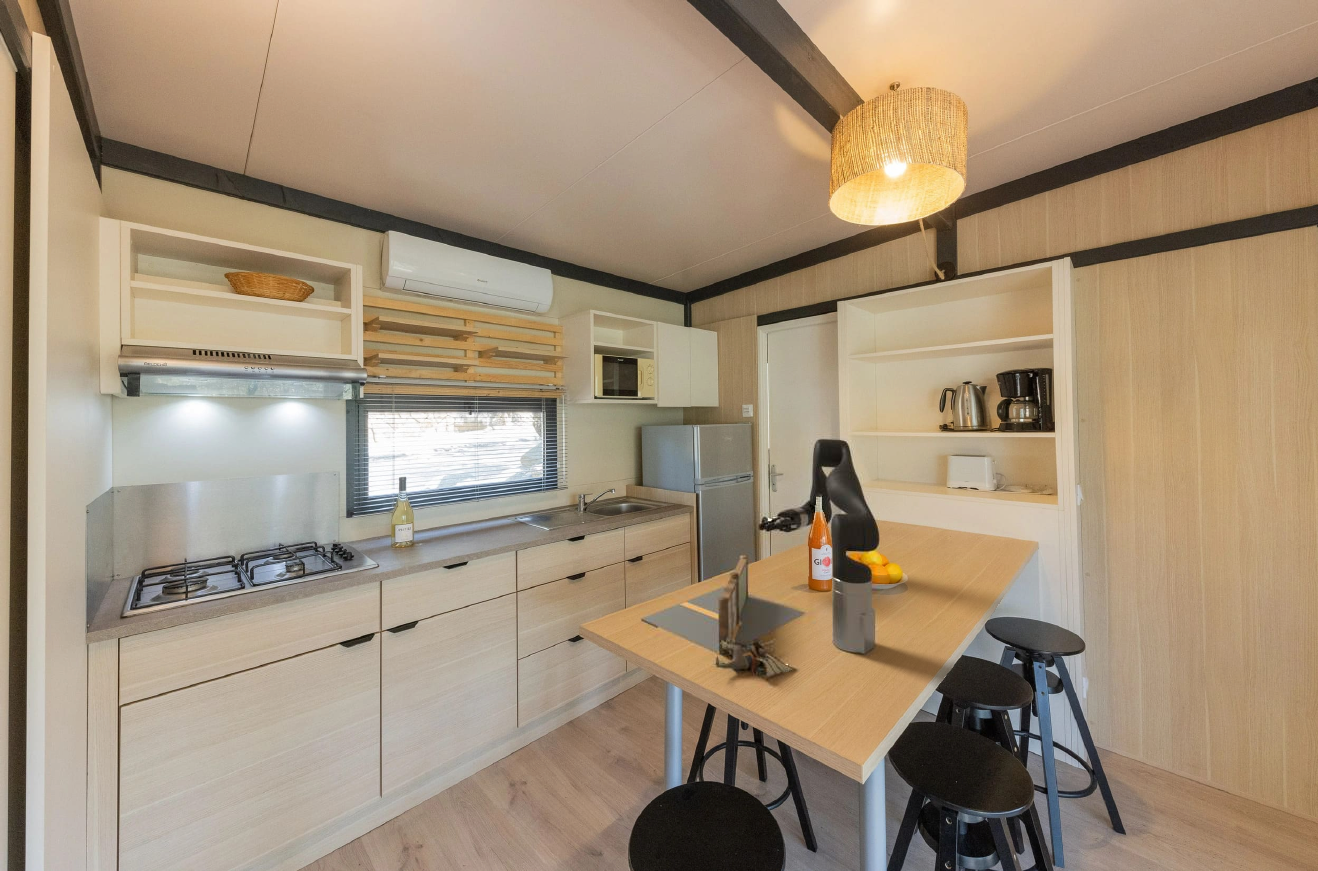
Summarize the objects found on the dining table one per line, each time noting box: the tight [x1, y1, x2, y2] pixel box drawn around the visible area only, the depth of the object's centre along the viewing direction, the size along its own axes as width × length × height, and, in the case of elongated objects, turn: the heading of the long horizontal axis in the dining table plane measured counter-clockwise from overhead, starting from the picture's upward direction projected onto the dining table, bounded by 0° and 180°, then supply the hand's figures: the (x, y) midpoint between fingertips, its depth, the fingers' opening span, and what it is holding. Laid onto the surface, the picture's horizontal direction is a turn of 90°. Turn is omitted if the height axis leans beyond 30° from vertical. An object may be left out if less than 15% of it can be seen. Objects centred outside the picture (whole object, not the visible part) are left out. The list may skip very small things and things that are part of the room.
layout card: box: [640, 586, 806, 657], centre depth 140 cm, size 31×37×1 cm
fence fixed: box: [718, 572, 739, 656], centre depth 126 cm, size 20×2×14 cm, turn 162°
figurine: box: [714, 636, 798, 681], centre depth 111 cm, size 20×6×17 cm
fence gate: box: [732, 554, 749, 617], centre depth 145 cm, size 20×2×13 cm, turn 162°
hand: (763, 527), depth 157 cm, fingers closed
